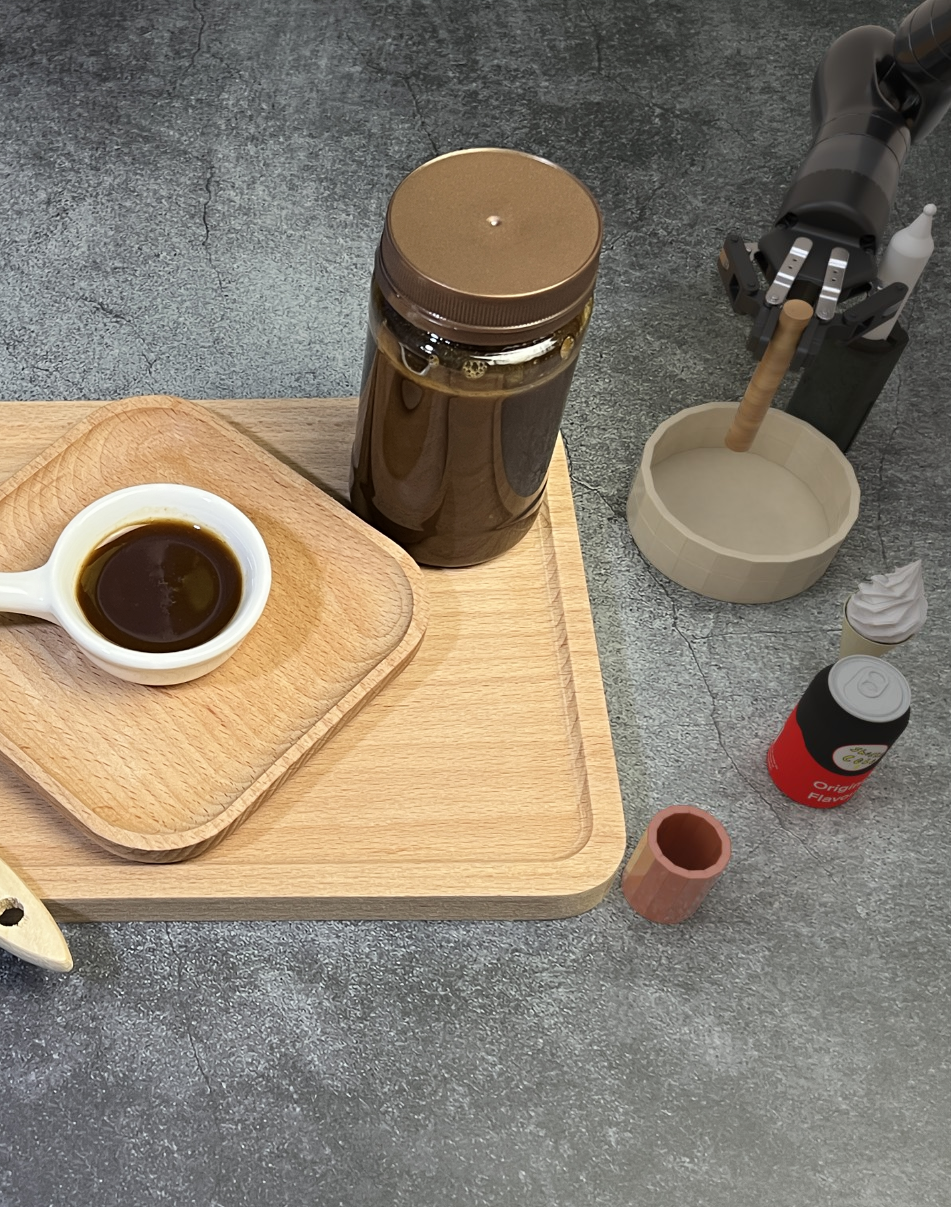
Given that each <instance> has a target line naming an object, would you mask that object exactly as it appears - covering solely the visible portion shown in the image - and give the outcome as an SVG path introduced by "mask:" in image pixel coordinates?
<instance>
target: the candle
mask: <svg viewBox="0 0 951 1207" xmlns="http://www.w3.org/2000/svg"><path fill="white" fill-rule="evenodd" d="M922 211H923V212H921V214H920V215H918V216H917V218H916V219H914V220H913V222H912V223H910V224H909V225H908V226H907V227H904V228H902V229H900V230H898V231H896V232H895V233H894V234H893V235H892V237H891V239H890V241H889V243H888V245H887V246H886V249H885V251H884V252H883V255H882V257H881V259H880V261H879V263H878V264H877V267H878V275H877V277H878V278H880V279H881V280H882V281H884V282H885V283H887V284H888V285H890V284H892V283H894V282H901V283H904V284H906V285H907V286H908V288H909V290H908V292H907V294H906V296H905V298H904V300H903V302H902V304H901V306H900V308H899V309H898V311H897V313H896V315H895V317H893V318H892V319H890V320H888V321H887V322H885V323H883V324H882V325H880V326H878V327H877V328H875V329H873V330H872V331H870V332H868V333H867V334H865V335H863V336H862V337H860V338H858V339H857V340H855V341H853V342H851V343H850V344H848V345H846V346H839V345H836V344H835V343H834V342H833V341H832V340H824V341H823V343H822V345H821V348H820V351H819V353H818V355H817V357H816V359H815V361H814V363H813V365H812V366H811V367H810V368H809V369H805V368H804V370H803V372H802V373H801V376H800V378H799V380H798V383H797V385H796V387H795V388H794V390H793V392H792V395H791V397H790V399H789V401H788V403H787V406H786V408H785V410H784V412H785V413H788V414H790V415H792V416H794V417H796V418H799V419H801V420H803V421H805V422H807V423H809V424H810V425H812V426H813V427H814V428H816V429H817V430H818V431H820V432H821V433H822V434H823V435H825V436H826V437H827V438H829V439H830V440H831V441H833V442H834V443H835V444H836V446H837V447H838V448H839V450H840V451H841V452H842V453H843V455H847V454H848V453H849V452H850V450H851V448H852V446H853V444H854V442H855V441H856V439H857V437H858V435H859V433H860V431H861V430H862V428H863V426H864V424H865V422H866V421H867V418H868V417H869V415H870V413H871V412H872V410H873V408H874V406H875V404H876V402H877V401H878V398H879V397H880V395H881V393H882V391H883V390H884V387H885V386H886V384H887V382H888V380H889V379H890V376H891V375H892V373H893V371H894V369H895V367H896V366H897V364H898V362H899V360H900V358H901V356H902V355H903V353H904V351H905V349H906V348H907V345H908V344H909V341H910V336H909V334H908V332H907V331H906V330H905V329H904V328H902V326H901V323H900V322H899V320H898V318H899V316H900V315H901V312H902V311H903V308H904V307H905V305H906V303H907V301H908V300H909V297H910V296H911V293H912V292H913V290H914V288H915V286H916V284H917V283H918V281H919V278H920V277H921V275H922V274H923V271H924V268H925V267H926V265H927V264H928V262H929V260H930V258H931V256H932V254H933V252H934V250H935V244H934V243H935V242H934V239H933V236H932V234H931V233H932V225H933V216H934V215H935V214H937V206H936V205H935V204H934V203H928V204H925V205H924V206H923V210H922ZM862 295H863V296H862V297H861V300H860V301H859V303H860V302H861V301H863V300H865V298H866V296H867V294H866V293H863V294H862ZM844 312H845V311H843V312H842V313H841V314H844Z"/></svg>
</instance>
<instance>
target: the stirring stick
mask: <svg viewBox="0 0 951 1207" xmlns="http://www.w3.org/2000/svg"><path fill="white" fill-rule="evenodd" d="M812 315H813V308H812V307H811V306H810V305H809V304H808V303H807V302H805V301H802V300H786V302H785V304H784V306H783V308H782V310H781V313H780V315H779V319H778V322H777V324H776V327H775V330H774V332H773V335H772V337H771V340H770V342H769V344H768V347H767V349H766V351H765V354H764V356H763V358H762V360H761V362H758V361H757V365H756V366H755V369H754V372H753V374H752V376H751V378H750V381H749V382H748V385H747V387H746V388H745V392H744V394H743V396H742V399H741V401H740V402H741V403H740V405H739V408H738V410H737V412H736V414H735V417H734V419H733V421H732V423H731V426H730V428H729V430H728V432H727V435H726V437H725V440H724V441H725V445H726V446H727V447H728V448H729V449H730V450H732V451H734V452H746V451H748V450H749V449H750V448H751V445H752V443H753V441H754V439H755V437H756V435H757V433H758V431H759V428H760V426H761V424H762V422H763V420H764V418H765V416H766V413H767V411H768V409H769V407H771V405H772V403H773V400H774V398H775V396H776V395H777V392H778V391H779V388H780V386H781V384H782V382H783V379H784V377H785V375H786V373H787V372H788V368H789V366H790V363H791V360H792V358H793V355H794V352H795V350H796V348H797V345H798V343H799V341H800V339H801V337H802V335H803V333H804V330H805V328H806V326H807V325H808V324H809V322H810V319H811V317H812Z"/></svg>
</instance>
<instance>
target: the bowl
mask: <svg viewBox="0 0 951 1207" xmlns="http://www.w3.org/2000/svg"><path fill="white" fill-rule="evenodd" d="M740 403H741V401H711V402H707V403H703V404H698V405H695V406H691V407H686V408H683V409H681V410H680V411H678V412H676V413H675V414H674V415H672V416H671V417H669V418H667V419H666V420H663V421H662V422H661V423H659V424H658V426H657V427H656V429H655V430H654V431H653V432H652V433H651V435H650V436H649V437H648V439H647V441H645V445H643V446H644V447H643V449H642V452H641V454H640V457H639V459H638V460H639V461H638V463H637V465H636V468H635V472H634V474H633V477H632V479H631V482H630V486H629V490H628V494H627V497H626V503H625V504H626V505H625V507H626V508H625V514H626V522H627V526H628V528H629V532H630V534H631V537H632V539H633V541H634V542H635V544H636V546H637V548H638V549H639V551H640V552H641V553H642V555H643V557H645V558H646V560H648V562H649V563H650V564H651V565H652V566H653V567H654V568H656V569H657V571H659V572H660V573H661V574H662V575H664V576H666V577H667V579H669V580H671V581H672V582H674V583H676V584H677V585H679V586H681V587H683V588H684V589H687V590H689V591H691V592H693V593H695V594H698V595H701V596H703V597H706V598H710V599H713V600H718V601H722V602H727V603H734V604H745V605H746V604H747V605H749V604H751V605H755V604H756V605H757V604H768V603H774V602H779V601H782V600H785V599H789V598H792V597H794V596H796V595H798V594H801V593H803V592H804V591H806V590H808V589H809V588H810V587H812V586H813V585H815V583H816V582H818V581H819V580H820V579H821V578H822V577H823V576H824V575H825V572H826V571H827V570H828V569H829V566H830V565H831V564H832V561H833V560H834V559H835V557H836V555H837V554H838V552H839V550H840V548H841V547H842V545H843V544H844V542H845V540H846V538H847V537H848V535H849V534H850V531H851V530H852V528H853V526H854V525H855V523H856V521H857V519H858V518H859V512H860V511H859V510H860V502H861V488H860V485H859V481H858V479H857V476H856V473H855V469H854V467H853V465H852V464H851V462H850V461H849V460H848V459H847V458H846V456H845V454H843V453H842V452H841V451H840V450H839V448H838V447H837V446H836V444H835V443H834V442H833V441H831V440H830V439H829V438H827V437H826V436H825V435H823V434H822V433H821V432H820V431H818V430H817V429H816V428H814V427H813V426H812V425H810V424H809V423H807V422H805V421H803V420H801V419H799V418H796V417H794V416H792V415H790V414H788V413H785V411H783V410H781V409H778V408H775V407H771V406H770V407H769V409H768V411H767V413H766V416H765V418H764V420H763V422H762V424H761V426H760V428H759V431H758V433H757V435H756V437H755V439H754V441H753V443H752V445H751V448H750V449H749V450H748V451H746V452H734V451H732V450H730V449H729V448H728V447H727V446H726V445H725V441H724V440H725V437H726V435H727V432H728V430H729V428H730V426H731V423H732V421H733V419H734V417H735V414H736V412H737V410H738V408H739V405H740Z"/></svg>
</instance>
